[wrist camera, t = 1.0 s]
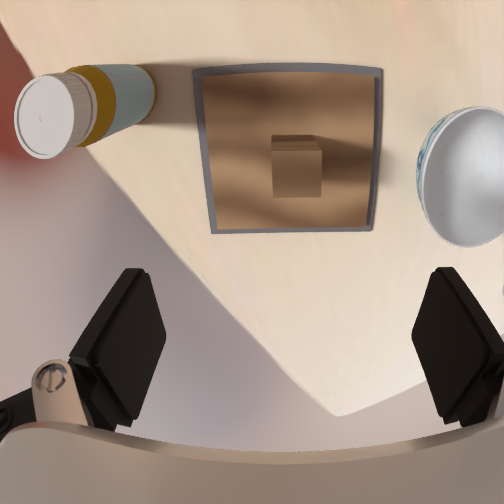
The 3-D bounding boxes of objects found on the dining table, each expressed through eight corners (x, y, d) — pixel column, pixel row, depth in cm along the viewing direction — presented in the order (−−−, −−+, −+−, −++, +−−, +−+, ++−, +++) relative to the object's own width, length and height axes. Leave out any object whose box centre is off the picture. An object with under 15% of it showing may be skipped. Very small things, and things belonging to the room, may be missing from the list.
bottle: (136, 52, 26) (47, 48, 13) (170, 99, 28) (97, 121, 16) (92, 92, 28) (-1, 117, 15) (124, 136, 31) (42, 183, 18)
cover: (202, 77, 27) (181, 78, 20) (371, 76, 25) (401, 77, 19) (218, 226, 36) (205, 264, 29) (363, 223, 34) (382, 261, 28)
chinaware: (491, 98, 24) (531, 110, 18) (488, 208, 32) (520, 237, 25) (386, 99, 27) (417, 107, 20) (395, 223, 34) (419, 258, 28)
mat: (193, 69, 27) (192, 69, 26) (379, 68, 25) (380, 68, 25) (211, 232, 37) (211, 234, 36) (369, 229, 35) (370, 231, 35)
